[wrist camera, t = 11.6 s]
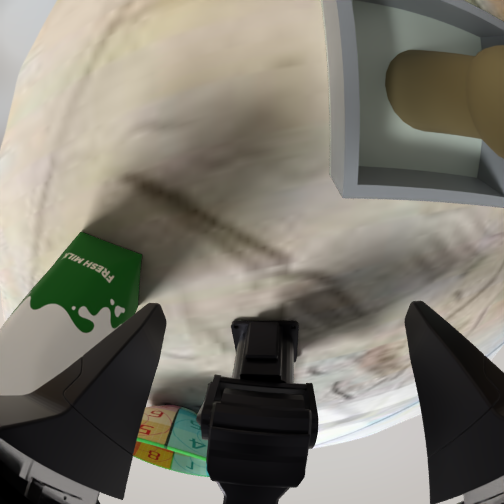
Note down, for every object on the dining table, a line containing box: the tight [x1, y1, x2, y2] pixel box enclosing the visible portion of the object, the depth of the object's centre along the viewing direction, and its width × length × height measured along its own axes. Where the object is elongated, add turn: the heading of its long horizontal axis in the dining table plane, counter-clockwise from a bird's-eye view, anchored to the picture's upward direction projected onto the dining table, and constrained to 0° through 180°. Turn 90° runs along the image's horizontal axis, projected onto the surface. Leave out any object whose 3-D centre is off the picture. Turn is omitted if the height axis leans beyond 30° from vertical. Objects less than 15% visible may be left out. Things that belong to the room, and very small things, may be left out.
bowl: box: [133, 405, 210, 477], centre depth 38 cm, size 22×22×10 cm
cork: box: [385, 45, 504, 159], centre depth 9 cm, size 6×6×11 cm
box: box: [321, 0, 504, 208], centre depth 12 cm, size 14×14×4 cm
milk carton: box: [0, 232, 142, 395], centre depth 17 cm, size 9×9×20 cm
